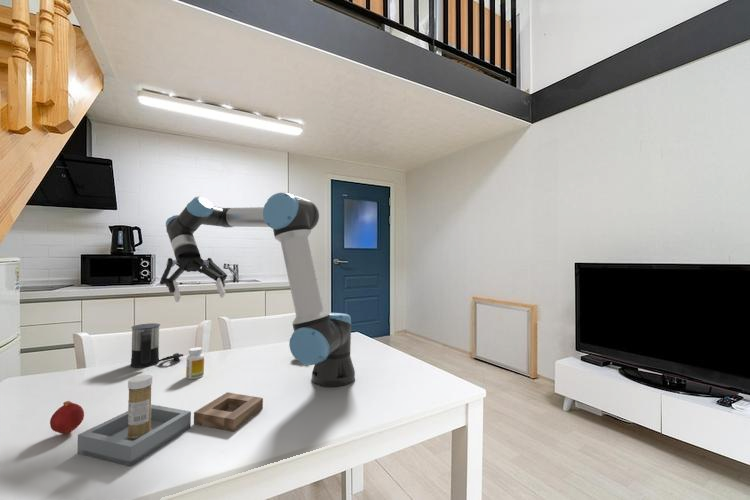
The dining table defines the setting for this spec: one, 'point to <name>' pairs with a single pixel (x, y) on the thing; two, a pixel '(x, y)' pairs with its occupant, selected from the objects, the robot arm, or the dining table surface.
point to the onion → (67, 418)
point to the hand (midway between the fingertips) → (201, 297)
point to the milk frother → (147, 345)
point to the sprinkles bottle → (139, 406)
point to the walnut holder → (226, 420)
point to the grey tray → (118, 448)
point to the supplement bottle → (195, 363)
